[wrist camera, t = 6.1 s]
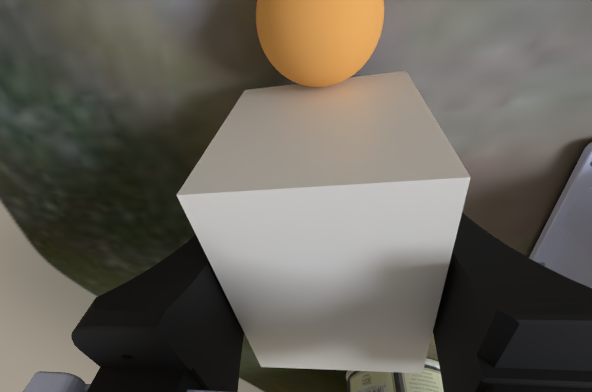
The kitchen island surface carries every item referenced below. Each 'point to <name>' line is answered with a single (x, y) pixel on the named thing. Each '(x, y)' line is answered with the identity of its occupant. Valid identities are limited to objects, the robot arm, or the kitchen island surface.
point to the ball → (319, 37)
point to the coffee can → (397, 380)
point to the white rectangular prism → (331, 221)
